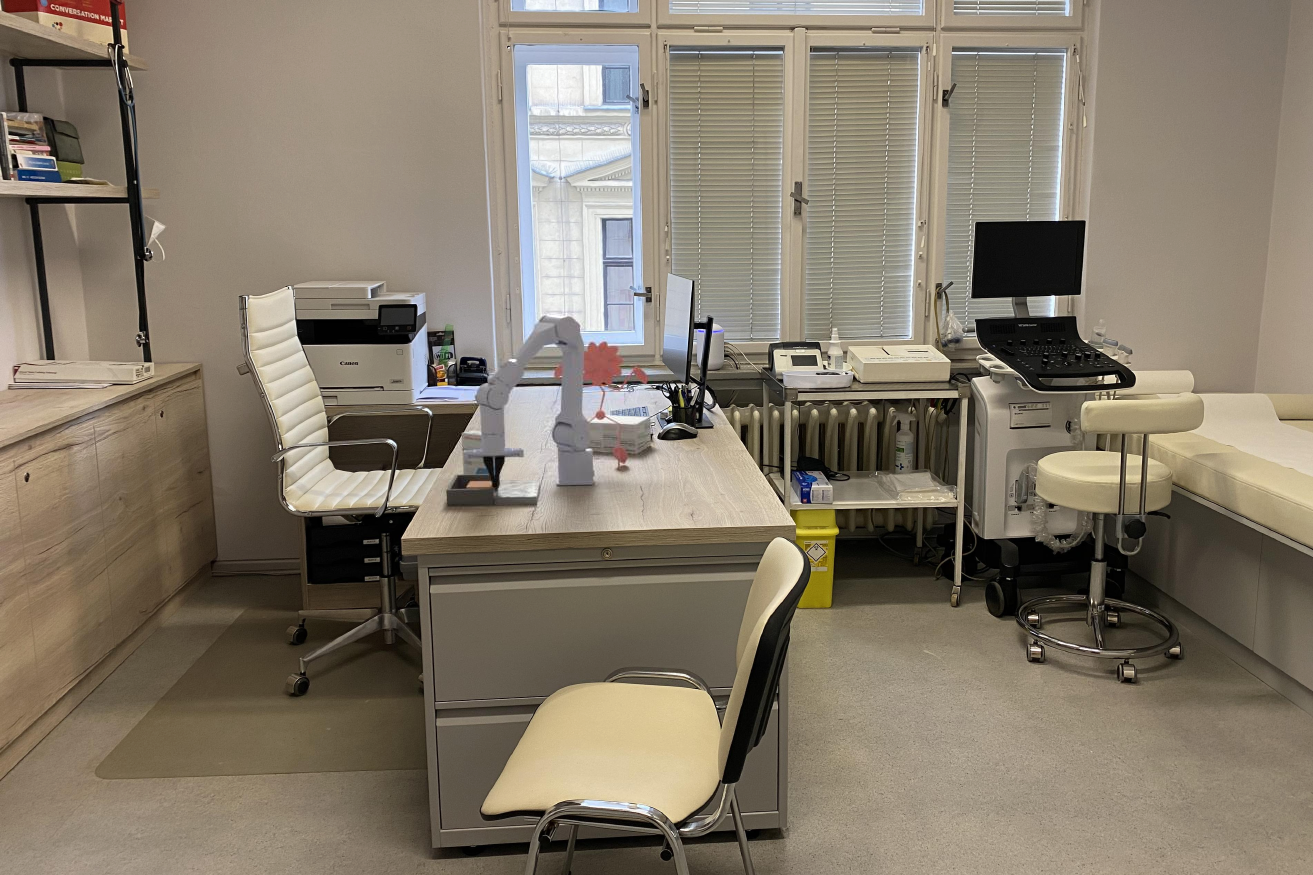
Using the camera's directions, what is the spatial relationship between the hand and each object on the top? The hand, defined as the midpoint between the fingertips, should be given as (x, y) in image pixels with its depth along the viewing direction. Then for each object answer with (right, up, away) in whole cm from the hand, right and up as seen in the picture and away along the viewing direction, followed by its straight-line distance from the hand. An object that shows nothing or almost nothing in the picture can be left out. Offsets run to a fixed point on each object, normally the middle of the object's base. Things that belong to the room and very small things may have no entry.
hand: (494, 486), depth 251 cm
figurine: (+25, +4, +35) cm, 43 cm away
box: (-5, -3, 0) cm, 6 cm away
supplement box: (+28, +8, +57) cm, 64 cm away
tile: (-4, -2, +2) cm, 5 cm away
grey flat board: (+6, -3, +1) cm, 6 cm away
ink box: (-8, +2, +24) cm, 25 cm away
